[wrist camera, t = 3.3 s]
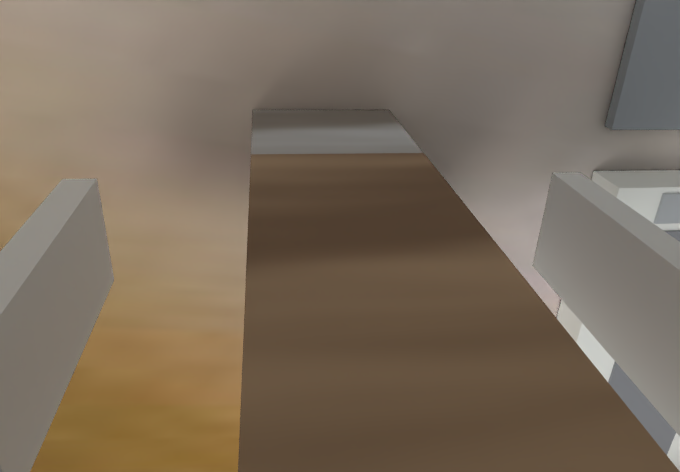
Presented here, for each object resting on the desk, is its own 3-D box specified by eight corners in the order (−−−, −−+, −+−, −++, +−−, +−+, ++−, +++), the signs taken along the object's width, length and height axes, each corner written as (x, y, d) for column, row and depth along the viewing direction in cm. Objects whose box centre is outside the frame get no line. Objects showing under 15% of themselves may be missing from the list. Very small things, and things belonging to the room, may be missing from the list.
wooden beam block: (252, 109, 16) (231, 621, 4) (389, 110, 17) (752, 562, 4) (257, 233, 18) (252, 853, 6) (380, 230, 19) (621, 793, 6)
